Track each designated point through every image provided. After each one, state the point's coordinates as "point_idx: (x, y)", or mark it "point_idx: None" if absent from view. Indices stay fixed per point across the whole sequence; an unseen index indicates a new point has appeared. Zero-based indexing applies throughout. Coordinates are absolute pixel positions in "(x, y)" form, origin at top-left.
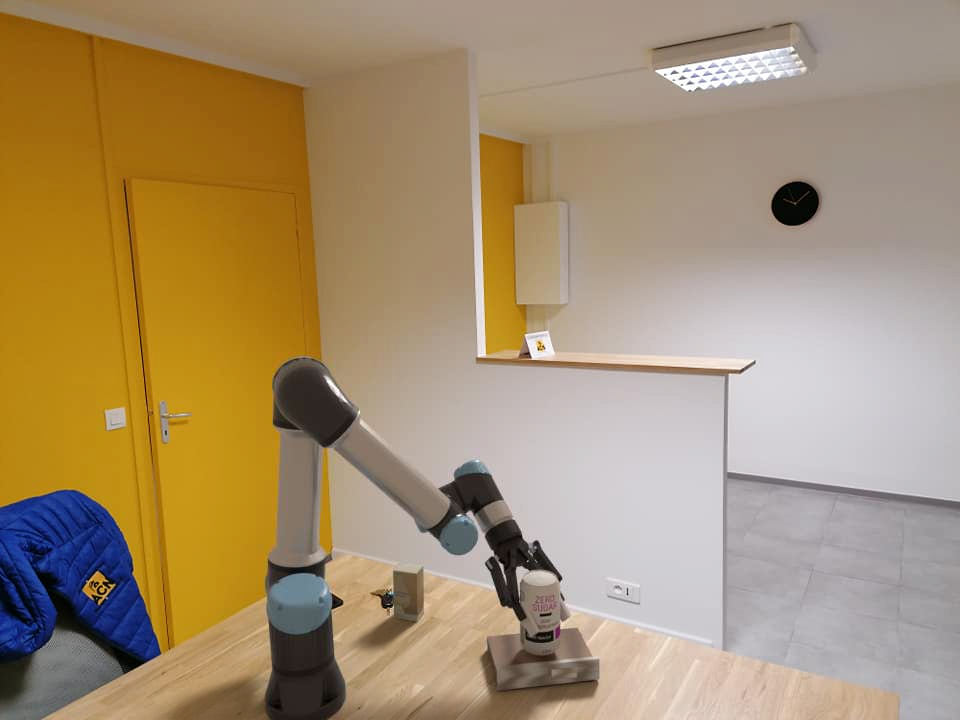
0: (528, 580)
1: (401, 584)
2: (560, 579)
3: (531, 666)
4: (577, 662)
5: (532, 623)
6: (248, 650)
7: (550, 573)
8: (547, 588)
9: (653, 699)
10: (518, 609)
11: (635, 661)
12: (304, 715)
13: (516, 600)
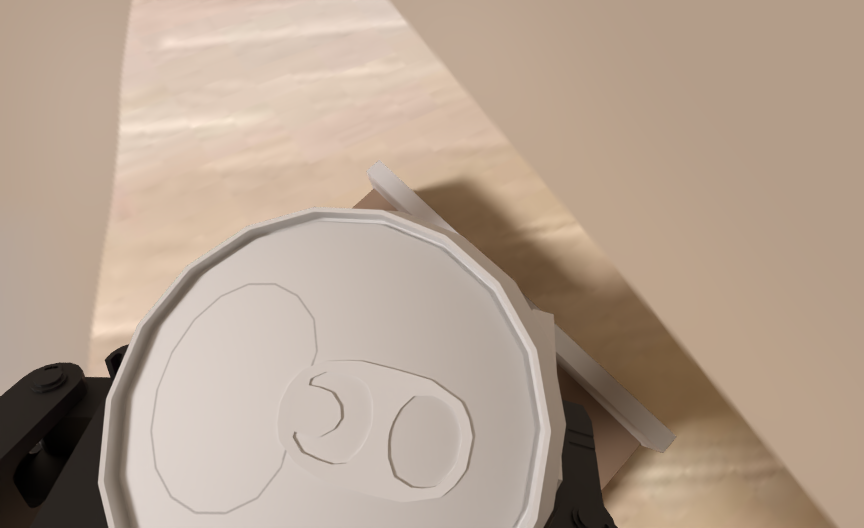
0: (454, 518)
1: None
2: (69, 371)
3: (564, 332)
4: (434, 213)
5: (554, 346)
6: None
7: (143, 371)
8: (452, 239)
9: (383, 62)
10: (590, 467)
11: (246, 159)
12: None
13: (602, 516)
